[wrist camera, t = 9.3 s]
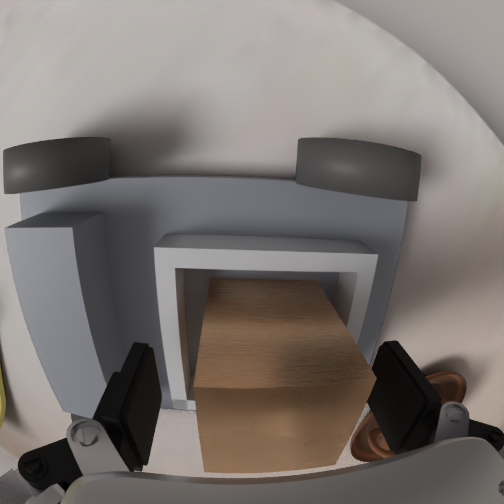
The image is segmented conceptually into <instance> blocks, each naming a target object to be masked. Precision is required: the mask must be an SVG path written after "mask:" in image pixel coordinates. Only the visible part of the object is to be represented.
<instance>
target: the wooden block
mask: <svg viewBox="0 0 504 504" xmlns="http://www.w3.org/2000/svg"><path fill="white" fill-rule="evenodd" d="M376 379H377V378H376V376H375V375H374V373H373V371H372V370H371V368H370V366H369V364H368V363H367V361H366V359H365V358H364V356H363V354H362V353H361V351H360V349H359V348H358V346H357V344H356V343H355V341H354V340H353V338H352V336H351V335H350V333H349V331H348V330H347V328H346V326H345V325H344V323H343V322H342V320H341V318H340V317H339V315H338V314H337V312H336V310H335V309H334V307H333V306H332V304H331V302H330V301H329V299H328V298H327V296H326V295H325V293H324V291H323V290H322V288H321V287H320V285H319V284H318V282H317V281H316V280H284V279H239V278H210V282H209V288H208V294H207V300H206V306H205V312H204V318H203V325H202V331H201V338H200V344H199V351H198V358H197V365H196V372H195V379H194V386H193V387H194V396H195V406H196V414H197V422H198V430H199V438H200V445H201V452H202V458H203V465H204V471H205V472H212V473H262V472H279V471H291V470H300V469H309V468H316V467H323V466H329V465H335V463H336V462H337V460H338V458H339V456H340V455H341V453H342V451H343V449H344V447H345V445H346V443H347V442H348V440H349V438H350V436H351V434H352V432H353V430H354V428H355V426H356V424H357V422H358V420H359V417H360V415H361V413H362V411H363V409H364V407H365V404H366V402H367V400H368V398H369V395H370V393H371V391H372V388H373V386H374V384H375V381H376Z"/></svg>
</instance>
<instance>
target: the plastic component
mask: <svg viewBox="0 0 504 504" xmlns="http://www.w3.org/2000/svg"><path fill="white" fill-rule="evenodd" d="M5 409H6V397H5V392H4V386H3V380H2V374H1V366H0V428H1V426H2V423H3V421H4V416H5Z"/></svg>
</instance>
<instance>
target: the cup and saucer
mask: <svg viewBox="0 0 504 504" xmlns="http://www.w3.org/2000/svg"><path fill="white" fill-rule="evenodd" d="M425 377H426V378H427V380H428V381H429V382H430V384H431V385H432V386H433V388H434V389H435V390H436V392H437V393H438V394H439V396H440V397H441V399H442V401H441V404H442V405H444V404H445V403H447V402H451V401H454V402H458V403H462V401H463V399H464V396H465V393H466V381H465V379H464V378H463V377H462V376H461V375H460V374H458V373H456V372H451V371H445V372H438V373H434V374H430V375H427V376H425ZM350 449H351V454H352V456H353V457H354V458H355V459H357V460H359V461H363V462H373V461H377V460H381V459H385V458H388V457H392V456H395V453H394V451H391V450H390V449H389V447H388V445H387V442H386V440H385V438H384V436H383V434H382V432H381V430H380V428H379V426H378V424H377V422H376V419H375V417H374V415H373V413H372V411H371V412H370V413H369V414H368V415H367V416H366V417H365V418H364V420H363V421H362V422H361V424H360V425H359V426H358V428H357V430H356V431H355V433H354V435H353V437H352V439H351V444H350Z"/></svg>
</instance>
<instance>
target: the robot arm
mask: <svg viewBox="0 0 504 504" xmlns="http://www.w3.org/2000/svg"><path fill="white" fill-rule="evenodd" d="M371 370H372V371H373V373H374V375H375V376H376V378H377V379H376V381H375V384H374V386H373V388H372V391H371V393H370V395H369V398H368V400H367V403H368V405H369V407H370V409H371V411H372V413H373V415H374V417H375V419H376V422H377V424H378V426H379V428H380V430H381V432H382V434H383V436H384V438H385V440H386V442H387V445H388V447H389V449H390V450H391V451H394V453H395V456H392V457H388V458H385V459H381V460H377V461H373V462H369V463H365V464H360V465H356V466H351V467H346V468H341V469H336V470H330V471H324V472H317V473H310V474H302V475H292V476H281V477H266V478H203V477H186V476H175V475H165V474H155V473H145V472H142V468H143V465H146V466H147V464H148V461H149V456H150V451H151V447H152V442H153V437H154V433H155V428H156V424H157V419H158V415H159V411H160V406H161V402H162V392H161V387H160V382H159V377H158V372H157V366H156V360H155V355H154V349H153V347H149V344H148V343H139V342H134V343H133V345H132V347H131V349H130V351H129V353H128V355H127V358H126V360H125V362H124V364H123V366H122V369H121V371H120V372H117V371H115V372H113V374H112V376H111V378H110V380H109V382H108V384H107V386H106V389H105V391H104V393H103V395H102V397H101V400H100V402H99V404H98V406H97V409H96V411H95V413H94V416H93V418H92V419H90V418H82V419H78V420H76V421H74V422H73V423H71V424H70V425H69V427H68V429H67V433H66V436H67V438H64V439H62V440H59V441H56V442H54V443H51V444H48V445H46V446H43V447H40V448H37V449H34V450H31V451H29V452H26V453H25V454H23V455H22V456H21V457H20V459H19V461H18V469H16V470H15V471H14V470H13V469H11V470H9V471H8V472H7V473H5V474H4V475H2V476H1V477H0V504H504V433H503V432H502V431H501V430H500V429H499V428H497V427H495V426H491V425H488V424H484V423H481V422H478V421H474V420H471V419H469V412H468V410H467V408H466V407H465V406H464V405H462V404H461V403H458V402H454V401H451V402H447V403H445V404H444V405H442V404H441V401H442V399H441V397H440V396H439V394H438V393H437V392H436V390H435V389H434V388H433V386H432V385H431V384H430V382H429V381H428V380H427V378H426V377H425V376H424V374H423V373H422V372H421V370H420V369H419V368H418V366H417V365H416V364H415V363H414V361H413V360H412V359H411V357H410V356H409V355H408V354H407V352H406V351H405V350H404V349H403V347H402V346H401V345H400V343H399V342H398V341H396V340H395V341H386V342H384V343H383V344H382V345H381V346H380V347H379V349H378V352H377V355H376V358H375V361H374V364H373V367H372V369H371ZM134 470H135V471H141V472H134Z"/></svg>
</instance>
